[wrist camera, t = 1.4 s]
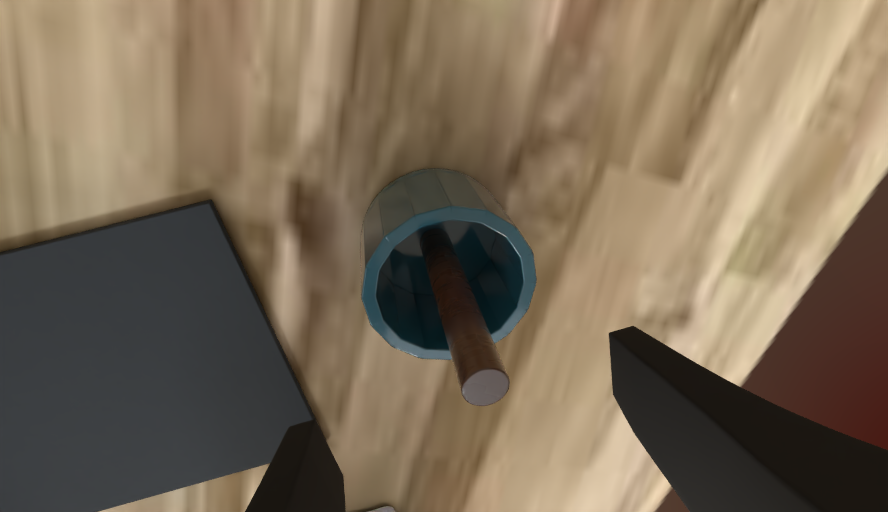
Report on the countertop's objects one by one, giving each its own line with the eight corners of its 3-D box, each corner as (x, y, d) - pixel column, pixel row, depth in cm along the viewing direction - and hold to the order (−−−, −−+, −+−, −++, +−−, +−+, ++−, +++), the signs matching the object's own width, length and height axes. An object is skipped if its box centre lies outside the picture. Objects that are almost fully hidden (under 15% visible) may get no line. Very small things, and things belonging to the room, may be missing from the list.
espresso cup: (510, 278, 22) (544, 335, 18) (382, 312, 22) (388, 377, 18) (490, 151, 19) (525, 186, 15) (342, 189, 19) (339, 234, 15)
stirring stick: (452, 251, 21) (513, 399, 13) (423, 258, 21) (466, 412, 13) (446, 224, 20) (506, 362, 12) (416, 232, 20) (457, 376, 12)
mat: (326, 441, 25) (326, 447, 25) (-101, 561, 24) (-108, 569, 24) (211, 198, 18) (208, 202, 18) (-388, 349, 17) (-403, 356, 17)
